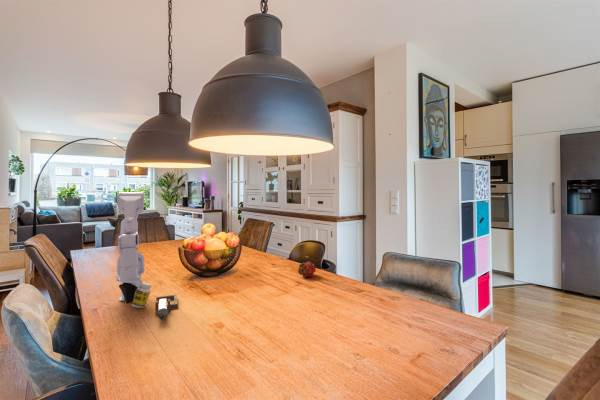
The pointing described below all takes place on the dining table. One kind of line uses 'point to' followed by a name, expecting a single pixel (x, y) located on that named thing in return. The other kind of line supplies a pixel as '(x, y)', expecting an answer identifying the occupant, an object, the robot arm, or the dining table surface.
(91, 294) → the dining table surface
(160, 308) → the lock pin
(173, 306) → the mount
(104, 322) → the dining table surface
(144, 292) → the supplement bottle
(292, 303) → the dining table surface
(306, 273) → the dragon fruit
